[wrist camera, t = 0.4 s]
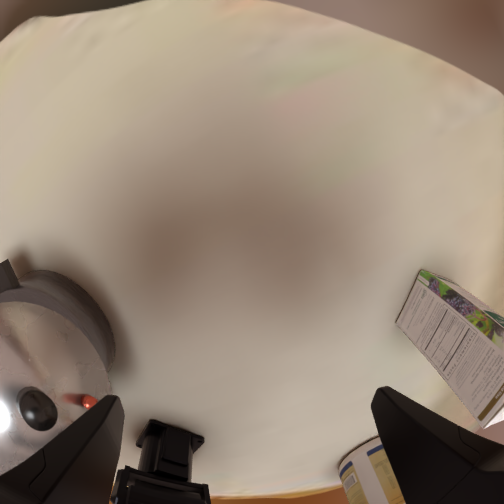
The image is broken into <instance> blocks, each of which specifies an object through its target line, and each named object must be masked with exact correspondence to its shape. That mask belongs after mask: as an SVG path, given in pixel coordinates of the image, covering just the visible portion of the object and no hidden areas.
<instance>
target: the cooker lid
mask: <svg viewBox="0 0 504 504" xmlns="http://www.w3.org/2000/svg"><path fill="white" fill-rule="evenodd" d="M108 394H109V395H112V392H111V386H110V382H109V378H108V375H107V372H106V369H105V367H104V364H103V362H102V360H101V358H100V356H99V354H98V353H97V351H96V349H95V348H94V346H93V345H92V344H91V342H90V341H89V340H88V338H87V337H86V336H85V335H84V334H83V333H82V332H81V331H80V329H79V328H77V327H76V326H75V325H74V324H73V323H72V322H70V321H69V320H68V319H66V318H65V317H63V316H62V315H60V314H58V313H56V312H54V311H53V310H51V309H48V308H45V307H43V306H40V305H36V304H32V303H27V302H2V303H0V475H2V474H3V473H5V472H7V471H9V470H10V469H12V468H14V467H15V466H17V465H18V464H20V463H22V462H23V461H25V460H26V459H28V458H29V457H30V456H32V455H33V454H34V453H36V452H37V451H38V450H39V449H41V448H43V446H44V445H46V444H47V443H48V442H49V441H51V440H52V439H53V438H54V437H56V436H57V435H58V434H59V433H60V432H62V431H63V430H64V429H65V428H67V427H68V426H69V425H70V424H72V423H73V422H74V421H75V420H76V419H78V418H79V417H80V416H81V415H83V414H84V413H85V412H86V411H87V410H89V409H90V408H91V407H92V406H93V405H95V404H96V403H97V402H98V401H99V400H101V399H102V398H103V397H104V396H106V395H108Z"/></svg>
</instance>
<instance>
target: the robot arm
mask: <svg viewBox="0 0 504 504" xmlns="http://www.w3.org/2000/svg"><path fill="white" fill-rule="evenodd" d="M371 410H372V413H373V416H374V420H375V423H376V427H377V430H378V434H379V437H380V440H381V443H382V445H383V448H384V450H385V453H386V455H387V458H388V460H389V462H390V465H391V467H392V470H393V472H394V475H395V477H396V480H397V482H398V485H399V488H400V490H401V493H402V495H403V498H404V501H405V503H406V504H504V445H502V444H499V443H497V442H494V441H491V440H489V439H486V438H484V437H481V436H479V435H477V434H474V433H472V432H470V431H468V430H466V429H464V428H462V427H460V426H457V424H455V423H453V422H451V421H449V420H447V419H446V418H444V417H442V416H440V415H438V414H436V413H435V412H433V411H431V410H429V409H427V408H426V407H424V406H422V405H420V404H419V403H417V402H415V401H413V400H411V399H410V398H408V397H406V396H405V395H403V394H401V393H399V392H398V391H396V390H394V389H392V388H391V387H389V386H384V387H380V388H378V389H377V390H376V393H375V395H374V398H373V400H372V403H371ZM124 417H125V414H124V410H123V407H122V404H121V401H120V398H119V397H118V396H116V395H109V394H108V395H106V396H104V397H103V398H102V399H101V400H99V401H98V402H97V403H96V404H95V405H93V406H92V407H91V408H90V409H89V410H87V411H86V412H85V413H84V414H83V415H81V416H80V417H79V418H78V419H76V420H75V421H74V422H73V423H72V424H70V425H69V426H68V427H67V428H65V429H64V430H63V431H62V432H60V433H59V434H58V435H57V436H56V437H54V438H53V439H52V440H51V441H49V442H48V443H47V444H46V445H44V446H43V448H41V449H39V450H38V451H37V452H36V453H34V454H33V455H32V456H30V457H29V458H28V459H26V460H25V461H23V462H22V463H20V464H18V465H17V466H15V467H14V468H12V469H10V470H9V471H7V472H5V473H3V474H2V475H0V504H109V500H110V501H111V502H112V504H211V501H210V494H209V488H208V484H197V483H192V482H191V476H192V457H193V454H194V452H195V451H196V450H197V449H198V448H199V447H200V446H201V445H202V444H203V443H204V438H203V437H200V436H197V435H194V434H191V433H188V432H185V431H182V430H179V429H176V428H173V427H170V426H168V425H165V424H162V423H160V422H157V421H154V420H150V421H149V422H148V424H147V425H146V427H145V429H144V430H143V432H142V433H141V435H140V437H139V438H138V440H137V442H136V446H137V447H139V448H142V451H141V456H140V461H139V466H138V470H137V469H134V468H131V467H130V466H127V465H125V469H121V470H118V472H117V476H116V480H115V484H114V487H113V491H112V486H113V481H114V477H115V472H116V468H117V464H118V460H119V455H120V449H121V440H122V432H123V425H124ZM127 486H129V487H127ZM111 491H112V494H111ZM110 495H111V498H110Z"/></svg>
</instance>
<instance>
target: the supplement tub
mask: <svg viewBox="0 0 504 504" xmlns="http://www.w3.org/2000/svg"><path fill="white" fill-rule="evenodd" d="M339 476H340V478H341V481H342V484H343V487H344V490H345V493H346V496H347V498H348V501H349V504H406V503H405V501H404V498H403V495H402V493H401V490H400V488H399V485H398V482H397V480H396V477H395V475H394V472H393V470H392V467H391V465H390V462H389V460H388V458H387V455H386V453H385V450H384V448H383V445H382V443H381V440H380V437H378V438H375V439H373V440H371V441H369V442H367V443H366V444H364V445H362V446H360V447H359V448H357V449H356V450H354V451H353V452H352V453H350V454H349V455H348V456H347V457H346V458H345V459H344V460H343V462H342V463H341V465H340V467H339Z"/></svg>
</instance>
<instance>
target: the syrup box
mask: <svg viewBox="0 0 504 504" xmlns="http://www.w3.org/2000/svg"><path fill="white" fill-rule="evenodd" d="M396 324H397V325H398V326H399V327H400V329H401V330H402V331H403V332H404V333H405V334H406V335H407V336H408V338H409V339H410V340H411V341H412V342H413V343H414V345H415V346H416V347H417V348H418V349H419V350H420V352H421V353H422V354H423V355H424V356H425V357H426V358H427V360H428V361H429V362H430V363H431V364H432V366H433V367H434V368H435V369H436V370H437V371H438V373H439V374H440V375H441V376H442V378H443V379H444V380H445V381H446V382H447V384H448V385H449V386H450V387H451V389H452V390H453V391H454V392H455V394H456V395H457V396H458V397H459V399H460V400H461V401H462V402H463V404H464V405H465V406H466V407H467V409H468V410H469V411H470V413H471V414H472V415H473V416H474V418H475V419H476V420H477V422H478V423H479V424H480V426H481V427H482V428H483V429H485V428H487V427H488V426H489V425H492V424H495V423H497V422H500V421H502V420H504V318H503V317H502V316H500V315H499V314H498V313H497V312H495V311H494V310H493V309H491V308H490V307H489V306H487V305H486V304H485V303H483V302H482V301H481V300H479V299H478V298H477V297H475V296H474V295H472V294H471V293H469V292H468V291H466V290H465V289H463V288H462V287H461V286H459V285H458V284H456V283H454V282H452V281H450V280H448V279H446V278H443V277H441V276H438V275H435V274H433V273H430V272H427V271H424V270H421V271H420V272H419V275H418V277H417V279H416V282H415V284H414V286H413V288H412V290H411V293H410V295H409V297H408V299H407V301H406V303H405V305H404V308H403V310H402V312H401V314H400V316H399V318H398V320H397V322H396Z"/></svg>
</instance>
